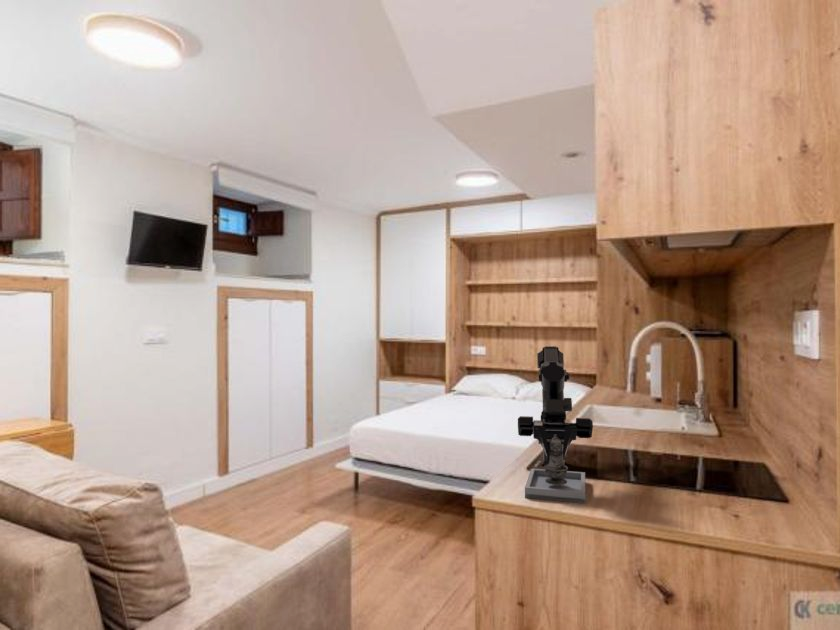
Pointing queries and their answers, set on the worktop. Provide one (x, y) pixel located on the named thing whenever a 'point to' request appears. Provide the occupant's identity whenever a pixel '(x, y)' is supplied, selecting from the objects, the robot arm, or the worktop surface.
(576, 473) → the grey tray
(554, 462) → the grey tall rounded piece
